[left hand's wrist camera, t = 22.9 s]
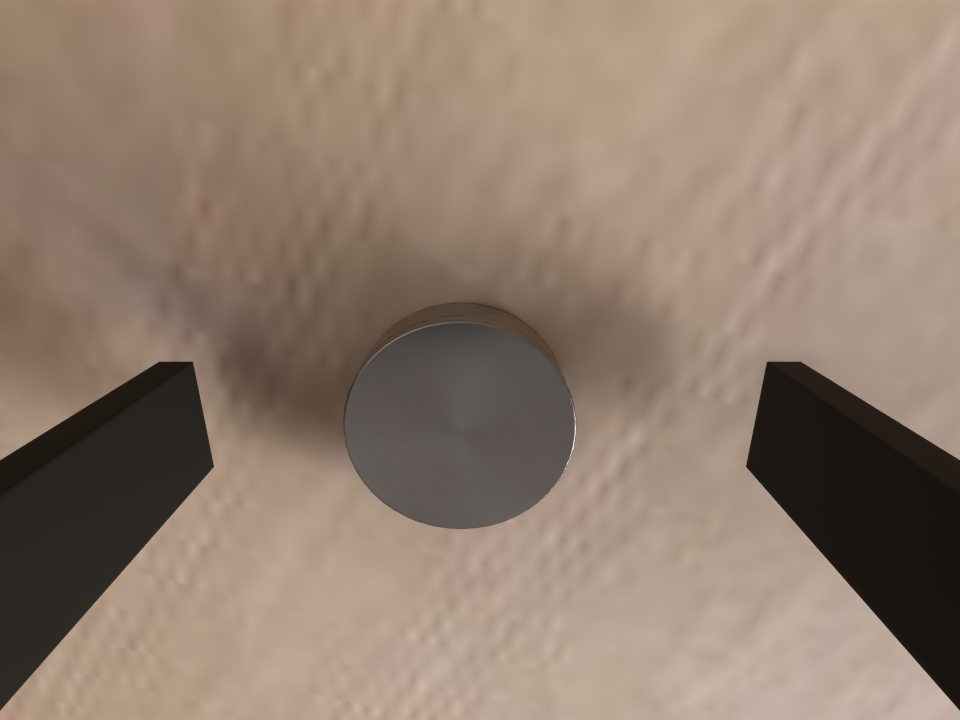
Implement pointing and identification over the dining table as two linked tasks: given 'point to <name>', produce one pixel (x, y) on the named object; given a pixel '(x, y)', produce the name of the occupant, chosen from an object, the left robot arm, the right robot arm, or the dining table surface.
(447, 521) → the lid
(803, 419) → the left robot arm
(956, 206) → the dining table surface
